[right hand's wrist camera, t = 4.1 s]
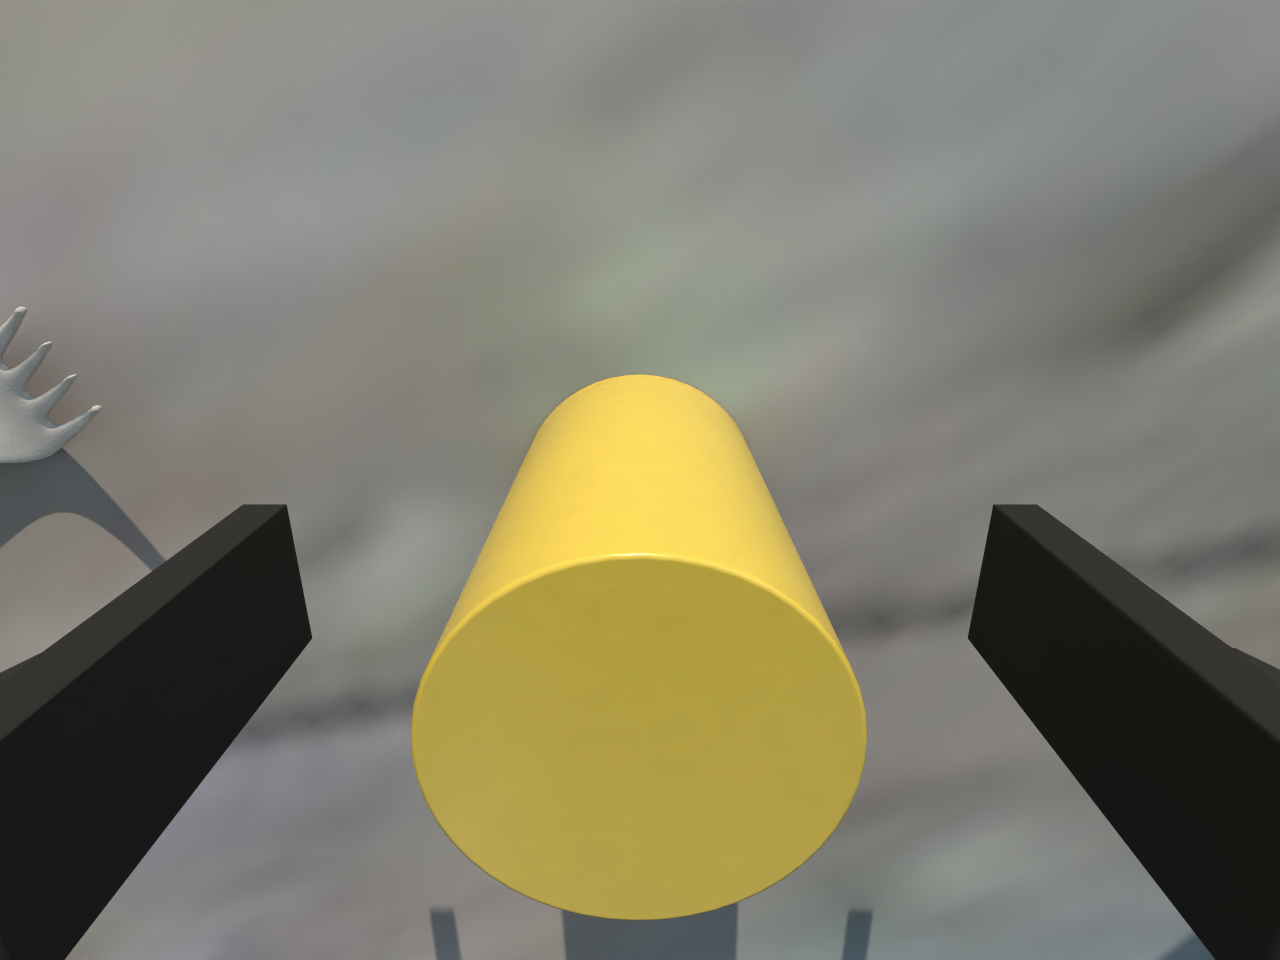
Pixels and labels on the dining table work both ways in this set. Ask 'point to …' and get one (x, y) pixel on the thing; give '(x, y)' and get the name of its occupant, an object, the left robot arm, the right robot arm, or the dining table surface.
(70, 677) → the right robot arm
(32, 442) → the fork
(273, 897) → the dining table surface
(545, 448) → the canister
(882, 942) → the dining table surface
